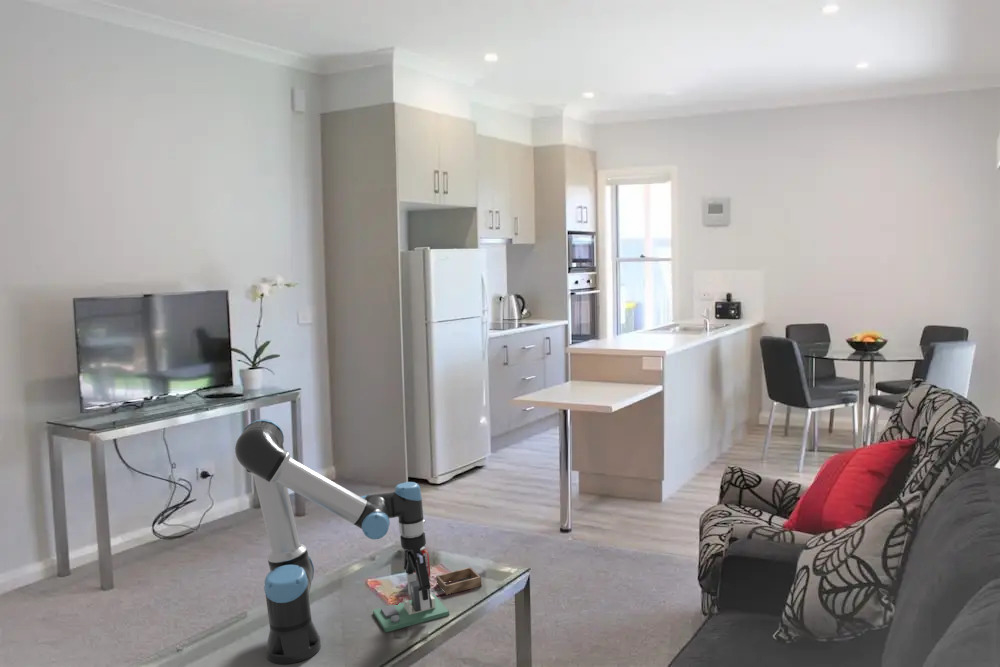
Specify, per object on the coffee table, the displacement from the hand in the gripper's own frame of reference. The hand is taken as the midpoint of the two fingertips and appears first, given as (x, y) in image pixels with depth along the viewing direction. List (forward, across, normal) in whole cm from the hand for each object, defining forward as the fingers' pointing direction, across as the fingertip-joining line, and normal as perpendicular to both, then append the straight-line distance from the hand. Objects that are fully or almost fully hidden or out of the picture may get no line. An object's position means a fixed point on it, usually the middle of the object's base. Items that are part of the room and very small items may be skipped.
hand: (419, 601), depth 257 cm
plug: (+2, 0, -1) cm, 2 cm away
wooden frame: (+3, +11, -17) cm, 21 cm away
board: (+3, 0, +3) cm, 5 cm away
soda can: (+4, +21, -7) cm, 22 cm away
